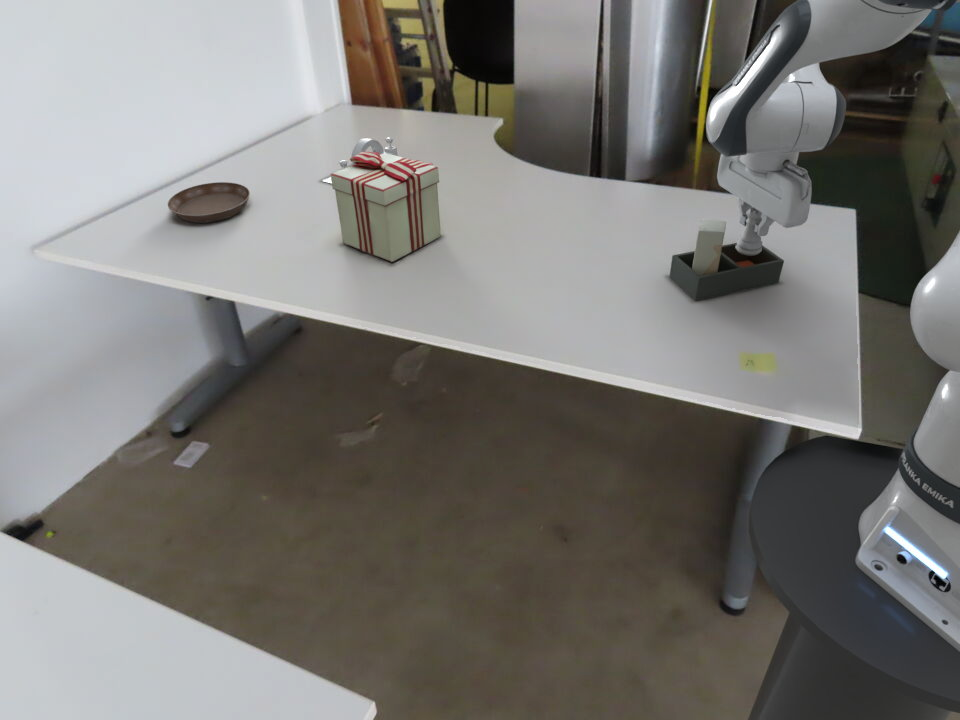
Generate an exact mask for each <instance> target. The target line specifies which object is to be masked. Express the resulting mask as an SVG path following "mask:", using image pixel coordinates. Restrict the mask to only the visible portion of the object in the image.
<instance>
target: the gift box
mask: <svg viewBox="0 0 960 720" xmlns="http://www.w3.org/2000/svg"><path fill="white" fill-rule="evenodd" d="M351 157H352V156H351ZM349 160H350V161H349V162H351V161H353V162H354V165H352V164H351V165H350V166H348V167H347V166H346V167H345V169H344V168H342V169H340V170H337V171H335V172H332V173H331V174H330V177H331V181H332V184H331V186H332V190H334V193H335V200H336V205H337V212H338V218H339V225H340V231H341V237H342V243H343V244H345V245H347V246H349V247H352V248H355V249H357V250H359V251H361V252H363V253H368V254H369V255H373V256H375V257H378V258H380V259H383V260H386V261H388V262H391V263H393V262H395V261H397V260H400V259H401V258H403V257H405V256H407V255H408V254H410V253H413V252H414V251H416V250H418V249H420V248H422V247H424V246H425V245H428V244H430V243H432V242H433V241H435V240H437V239H439V238H440V237H441V236H442V234H441V232H442V231H441V219H440V206H439V205H440V204H439V190H438V184H439V182H440V174H439V167H438V166H436V165H434V163H433V162H424V161H422V160H417V159H415V160H414V159H410V158H407V157H402V156H398V155H397V156H395V155H391V154H388V153H383V154H381V155H379V153H378V151H377V152H375V153H373V151H365V152H361V153H359V154H358V155H356V156H354V157H352V158H349Z"/></svg>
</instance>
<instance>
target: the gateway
mask: <svg viewBox="0 0 960 720" xmlns="http://www.w3.org/2000/svg"><path fill="white" fill-rule="evenodd" d="M384 141H385V142H386V144H388V146H386V147H385V148H383V146H382V143H381V142H379V141H378V140H376V139H372V138H366V137H365V138H361V139H359V140H358V142H357V143H356V144H355V145H354V147H353V149H352V153H351V158H352V157H354V156H356V155H358V154H359V153H361V152H367V149H368V148H371V150H372V153H375V152H377V151H378V153H379V155H381V154H383V153H388V154H391V155H395V156H398V148H397V147H396V146H392V145H391V144H393V142H394V137H390V136H388V137H386V138H385V139H384ZM350 162H351V166H352V165H354V162H353V161H350ZM348 163H349V161H347V160H345V159H342V160H340V161H339V162H338V164H339V165H340V167H341V168H343V169H345V168H347V166H348ZM322 182H324V183H328V184H331V185H332V181H331V176H329V177H326V178H325V179H323V180H322Z"/></svg>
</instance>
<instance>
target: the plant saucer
mask: <svg viewBox="0 0 960 720" xmlns="http://www.w3.org/2000/svg"><path fill="white" fill-rule="evenodd" d="M250 195H251V192H250V190H249V189H248V187H247V186H245V185H242V184H239V183H236V182H229V181H227V182H225V181H222V182H221V181H219V182H207V183H202V184H198V185H193V186H190V187H188V188H184V189H183V190H180V191H178V192H177V193H175V194H174V195H172V196H171V197H170V198H169V200H168V201H167V207H168V209H169V210H170V212H172V213H173V214H174V215H176V216H177V217H179V218H180V219H182V220H184V221H187V222H191V223H197V224H198V223H201V224H202V223H213V222H218V221H223V220H226V219H230V218H231V217H233V216H235V215H237V214H239V213H240V212H241V211H243V209H244V207H245V206H246V205H247V203H248V201H249V199H250Z"/></svg>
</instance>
